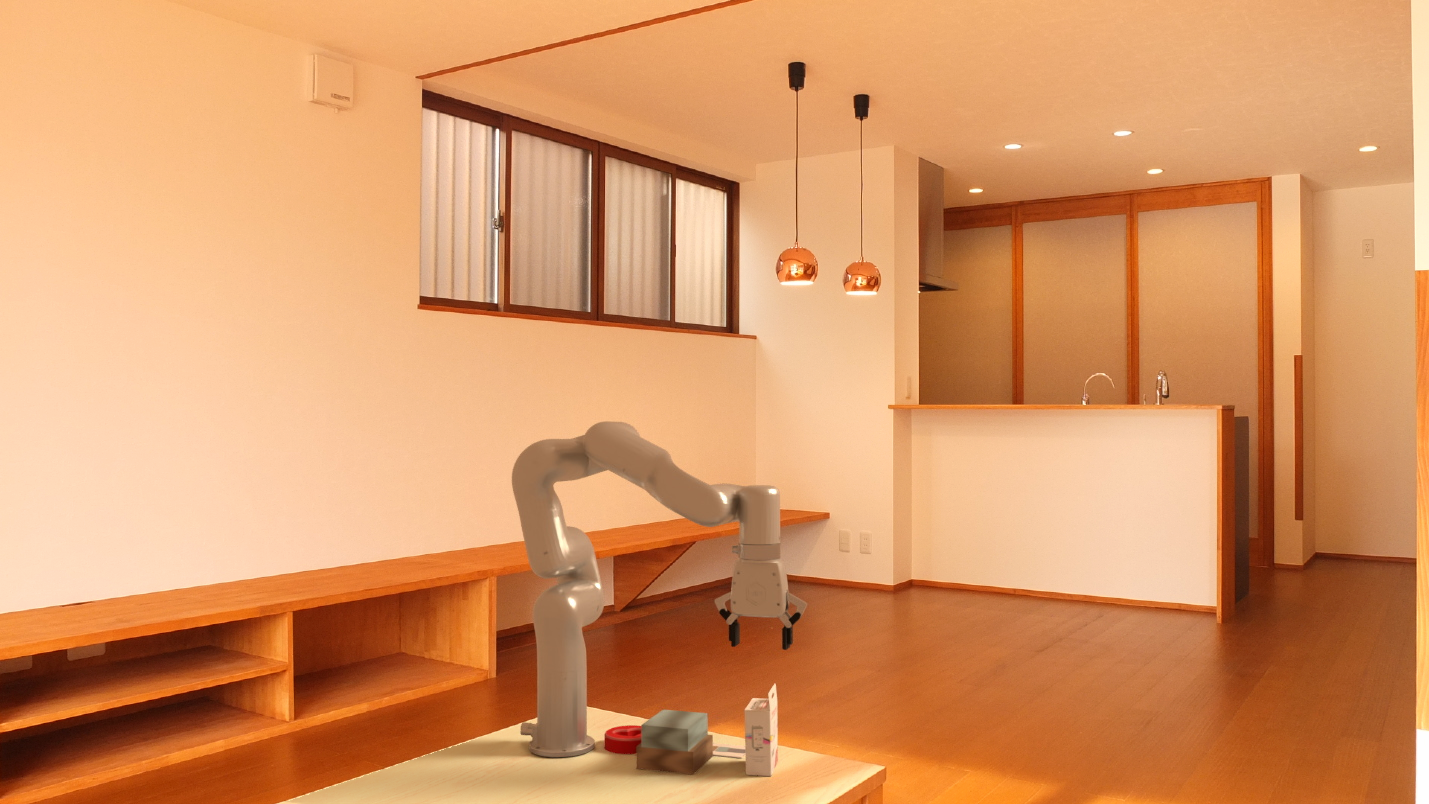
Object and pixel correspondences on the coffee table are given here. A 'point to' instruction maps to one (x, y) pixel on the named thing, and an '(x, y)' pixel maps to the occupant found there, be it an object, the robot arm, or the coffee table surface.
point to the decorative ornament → (623, 739)
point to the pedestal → (675, 742)
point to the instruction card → (728, 750)
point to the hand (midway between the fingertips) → (760, 646)
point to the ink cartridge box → (761, 735)
